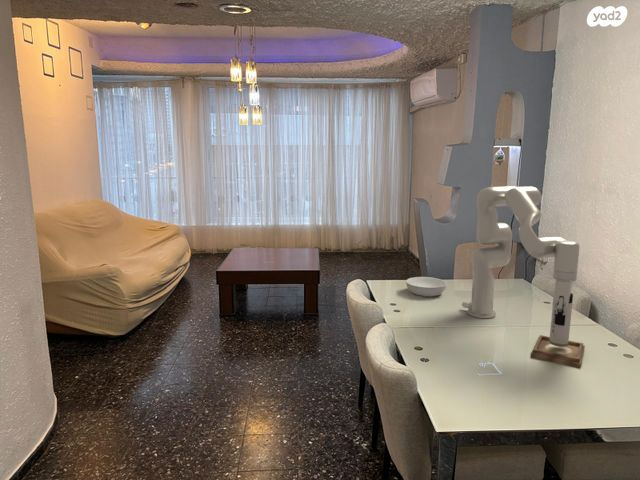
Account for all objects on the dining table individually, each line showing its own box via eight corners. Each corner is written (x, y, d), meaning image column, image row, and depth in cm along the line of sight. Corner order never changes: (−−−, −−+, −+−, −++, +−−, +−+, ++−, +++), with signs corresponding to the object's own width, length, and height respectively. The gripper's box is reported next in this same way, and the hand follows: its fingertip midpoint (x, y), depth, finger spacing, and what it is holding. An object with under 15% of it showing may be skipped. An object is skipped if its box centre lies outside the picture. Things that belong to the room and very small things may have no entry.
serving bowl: (450, 300, 234) (451, 287, 233) (409, 300, 235) (409, 287, 233) (440, 288, 255) (441, 276, 253) (402, 288, 255) (403, 276, 254)
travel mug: (566, 340, 173) (571, 290, 169) (569, 348, 167) (574, 295, 163) (548, 338, 175) (552, 288, 172) (550, 345, 169) (555, 293, 165)
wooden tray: (530, 357, 169) (531, 350, 168) (538, 340, 183) (538, 333, 183) (580, 367, 160) (581, 360, 160) (584, 349, 175) (585, 342, 174)
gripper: (556, 268, 175) (552, 313, 179) (550, 279, 161) (545, 327, 164) (578, 270, 171) (574, 316, 175) (574, 282, 157) (569, 331, 160)
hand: (560, 321), depth 169 cm, fingers closed on travel mug, 6 cm apart
